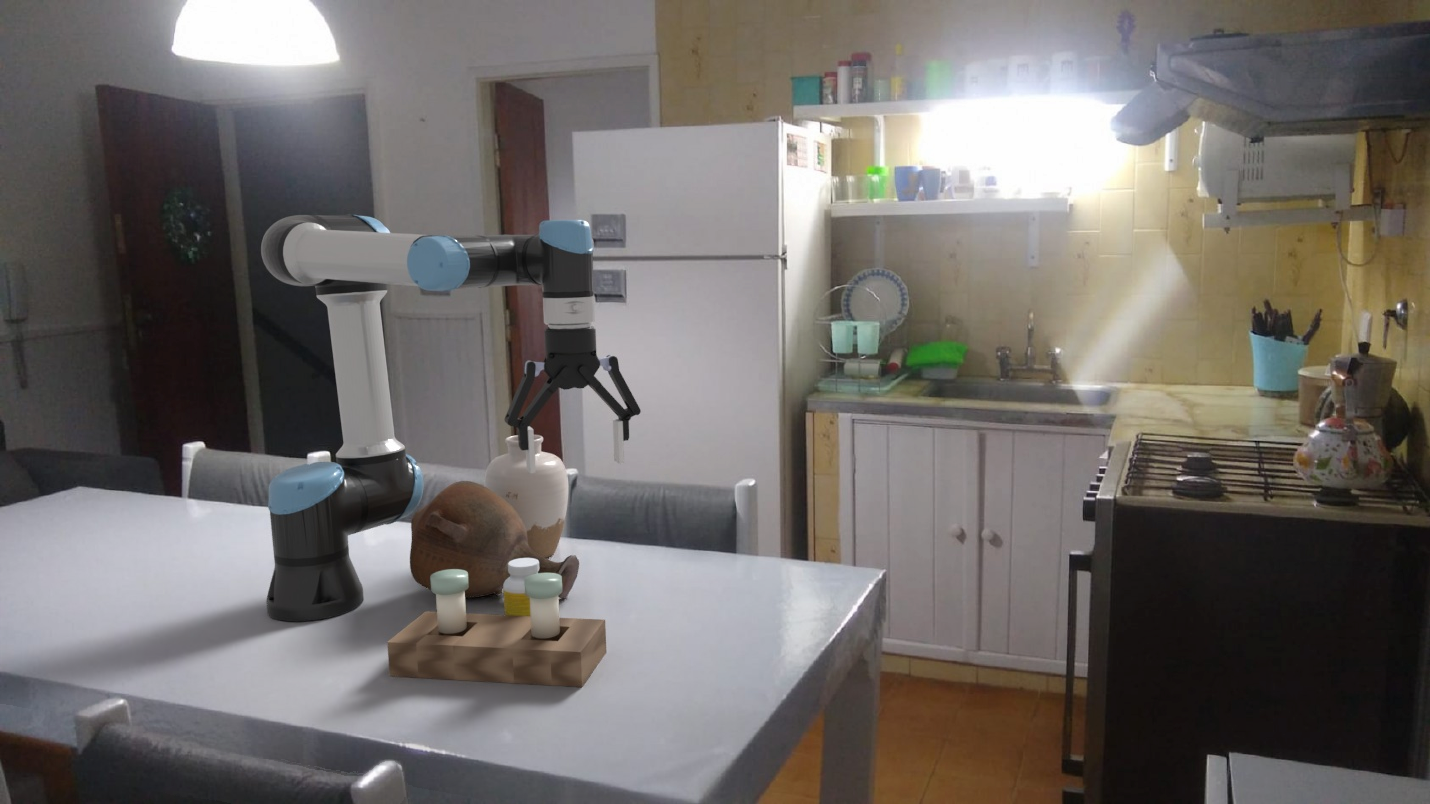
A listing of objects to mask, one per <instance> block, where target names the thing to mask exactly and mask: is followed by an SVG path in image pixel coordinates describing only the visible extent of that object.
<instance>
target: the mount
mask: <svg viewBox="0 0 1430 804" xmlns="http://www.w3.org/2000/svg"><path fill="white" fill-rule="evenodd" d="M559 621H560V633H559V634H558V635H557V636H554V637H551V638H536V637H533V636H532V635H531V617H530V616H513V615H505V614H492V613H491V614H488V613H487V614H485V613H467V612H466V622H467V628H466V629H465V630H464V631H461V632H458V633H452V634H445V633H441V632H439V631H438V620H437V611H424V612H423V613H422V614H420V615H419V616H418V617H417V618H415V619H414V620H413V621H412V622H411V623H409V624H408V625H407V626H405V627H404V628H403V629H402V630H401V631H399V632H398V633H397V634H395V635H394V636H393V637H392V638H390V639H389V640H388V641H387V642H386V643H387V644H386V645H387V655H388V656H387V657H388V671H389V677H397V678H398V677H401V678H415V679H416V678H418V679H434V680H435V679H437V680H451V681H452V680H454V681H470V682H471V681H472V682H474V681H475V682H485V683H486V682H488V683H505V684H506V683H507V684H519V685H538V686H541V685H543V686H557V687H575V688H583V686H585V684H586V683H587V681H588V679H589V678H590V676H591V675H592V674H593V672H594V671H595V670H596V668H597V667H598V665H599V664H600V662H601V661H602V660H603V658H604V657H605V655H606V654H607V634H606V633H607V632H606V630H607V629H606V619H599V618H598V619H597V618H596V619H595V618H575V617H559Z"/></svg>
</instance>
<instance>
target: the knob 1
mask: <svg viewBox="0 0 1430 804" xmlns="http://www.w3.org/2000/svg"><path fill="white" fill-rule="evenodd" d="M430 579H431V590H430V591H431V592H432V594H435V601H436V602H435V603H436V612H437V620H438V631H439V632H441V633H445V634H452V633H458V632H461V631H464V630H465V629H466V628H467V622H466V613H467V610H466V598H465V590H467V589H468V588H469V583H468V572H467V571H465V570H460V569H449V570H442V571H438V572H435V573H433V574H432V575H431V576H430Z"/></svg>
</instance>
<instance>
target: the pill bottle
mask: <svg viewBox="0 0 1430 804" xmlns="http://www.w3.org/2000/svg"><path fill="white" fill-rule="evenodd" d="M538 571H539V561H538V560H537V559H534V558H519V559H514V560H512V561H510V562H509V563H508V572H509V574H510V577H509V578H507V579H506V580H505V582H504V584H503V589H502V593H503V605H504V607H503V608H504V615H513V616H530V597H527V596H526V595H525V584H524V579H525V578H526V577H528V576H530V575H533V574H537V573H538Z"/></svg>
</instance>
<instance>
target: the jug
mask: <svg viewBox="0 0 1430 804" xmlns="http://www.w3.org/2000/svg"><path fill="white" fill-rule="evenodd" d="M410 524H411V525H410V528H411V543H410V551H409V568H410V572H411V576H412V578H413V579H414V580H415V582H416V583H417V584H419V586H421V587H423V588H425V589H428V590H429V591H431V579H430V576H431V575H432V574H433V573H435V572H438V571H442V570H449V569H460V570H465V571H467V572H468V583H469V588H468V589H467V590H465V599H466V598H467V599H468V598H479V597H485V596H489V595H492V594H495V595H496V596H500V595H501V594H503V584H504V582H505V580H506V579H507V578H509V577H510V574H509V572H508V563H509V562H510V561H512V560H514V559H519V558H534V559H537V560H538V561H539V571H538V573H556V574H559V575H561V576H562V593H561V594H560V595H558V599H566V598H567V597H568V596H569V593H570V592H571V591H572V589H573V587H574V584H575V582H576V579H577V577H578V575H579V574H578V573H579V569H580V560H579V559H578V557H577V555H576V554H575V555H573V554H571V555H568V556H567V557H566V558H565V559H564V560H563V561H560V562H557V561H553V560H551V559H547V558H544V557H542V556H540V555H539V554H537V553H536V552H534V551H533V550H532V549H531V548H530V547H529V545H528V539H527V532H526V529H525V526H524V524H523V522H522V520H521V518H520V516H519V515H518V513H517V512H516V511H515V510H514V509H513V507H512V506H511V505H510V504H509V503H507V502H506V501H505V500H504V499H503V498H501V497H500V496H499V495H497V494H496V493H495V492H493V491H492V490H490V489H488V488H487V487H485V486H484V484H483V485H482V484H480V483H478V482H475V481H470V480H461V481H455V482H454V483H452V484H449V485H448V486H446V488H444V489H442V490H441V491H440V492H439V493H438V494H437V495H436V496H435V497H434V498H433V499H432V500H431V501H430V502H429V503H428V504H426V505H425V506H424V507H421V509H418V510H417V511H416V512H415V513H414V514H413V515H412V518H411V522H410Z"/></svg>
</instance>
